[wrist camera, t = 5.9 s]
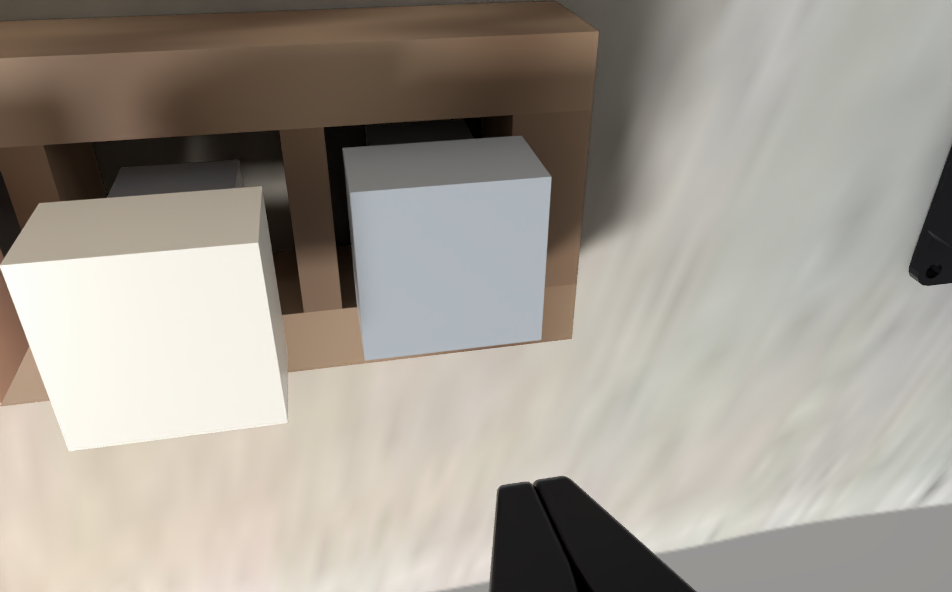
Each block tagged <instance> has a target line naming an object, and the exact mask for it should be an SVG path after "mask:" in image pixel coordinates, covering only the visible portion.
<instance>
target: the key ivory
mask: <svg viewBox="0 0 952 592" xmlns="http://www.w3.org/2000/svg"><path fill="white" fill-rule="evenodd" d="M0 268H1V271H2V273H3V276H4V279H5V281H6V284H7V287H8V290H9V292H10V295H11V298H12V300H13V303H14V306H15V308H16V311H17V314H18V316H19V319H20V322H21V324H22V327H23V330H24V332H25V335H26V338H27V340H28V343H29V346H30V348H31V351H32V354H33V356H34V359H35V362H36V364H37V367H38V370H39V372H40V375H41V378H42V380H43V383H44V386H45V388H46V391H47V394H48V397H49V399H50V402H51V405H52V407H53V410H54V413H55V415H56V418H57V421H58V423H59V426H60V429H61V431H62V434H63V437H64V439H65V442H66V445H67V447H68V450H69V451H75V450H83V449H90V448H98V447H106V446H114V445H121V444H129V443H137V442H144V441H152V440H160V439H168V438H175V437H183V436H191V435H198V434H206V433H214V432H222V431H229V430H237V429H245V428H252V427H260V426H268V425H276V424H283V423H288V352H287V345H286V339H285V332H284V326H283V319H282V313H281V306H280V300H279V293H278V287H277V280H276V274H275V267H274V261H273V254H272V248H271V241H270V235H269V229H268V222H267V216H266V209H265V203H264V196H263V190H262V186H258V187H245V188H244V187H243V181H242V175H241V169H240V163H239V159H237V160H223V161H209V162H194V163H180V164H166V165H151V166H137V167H123V168H120V171H119V173H118V175H117V177H116V179H115V181H114V183H113V186H112V188H111V190H110V192H109V194H108V196H107V198H100V199H87V200H74V201H61V202H48V203H39V204H38V206H37V207H36V209H35V210H34V212H33V214H32V215H31V217H30V218H29V220H28V221H27V223H26V225H25V226H24V228H23V229H22V231H21V233H20V234H19V236H18V237H17V239H16V240H15V242H14V244H13V245H12V247H11V248H10V250H9V251H8V253H7V255H6V256H5V258H4V259H3V261H2V262H1V264H0Z"/></svg>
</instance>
